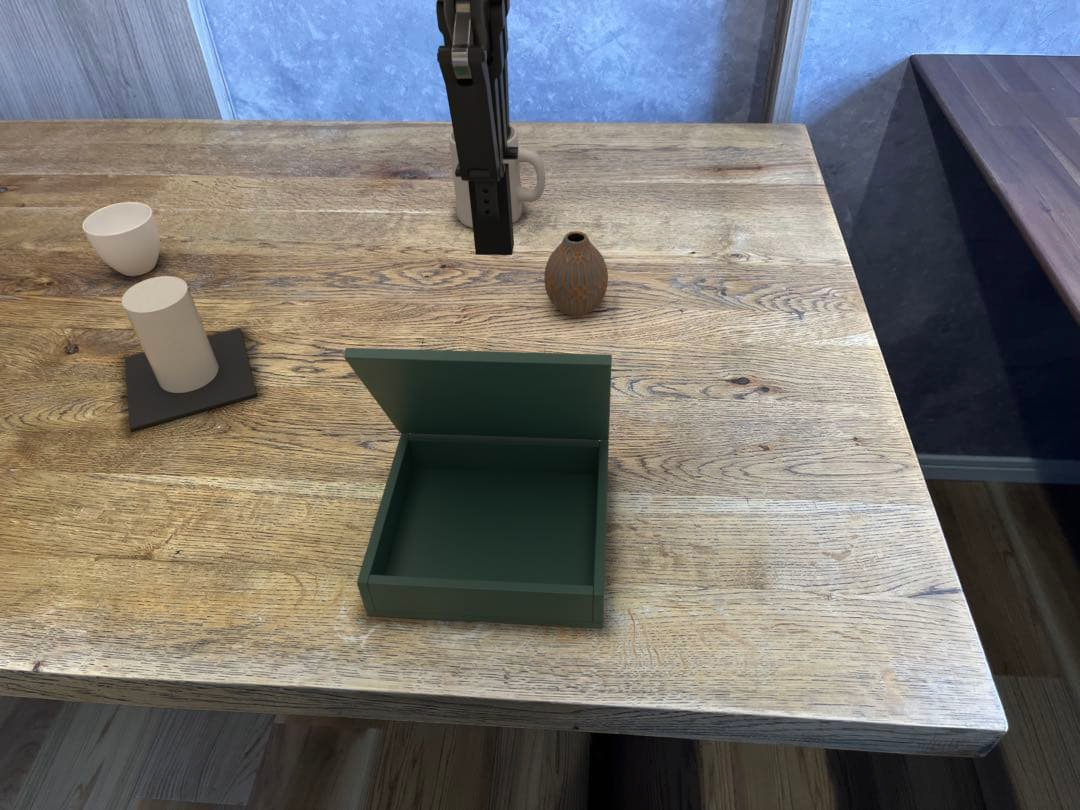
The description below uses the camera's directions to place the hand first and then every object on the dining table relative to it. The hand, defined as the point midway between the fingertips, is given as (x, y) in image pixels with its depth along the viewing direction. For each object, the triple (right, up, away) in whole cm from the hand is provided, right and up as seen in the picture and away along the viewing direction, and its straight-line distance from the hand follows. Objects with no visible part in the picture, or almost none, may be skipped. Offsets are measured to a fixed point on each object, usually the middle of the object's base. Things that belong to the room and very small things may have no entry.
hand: (495, 249), depth 61 cm
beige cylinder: (-33, -8, +23) cm, 41 cm away
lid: (0, -12, +1) cm, 12 cm away
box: (0, -23, +7) cm, 24 cm away
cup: (-47, +6, +40) cm, 62 cm away
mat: (-33, -9, +23) cm, 41 cm away
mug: (-2, +13, +46) cm, 48 cm away
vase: (+7, -1, +31) cm, 31 cm away
